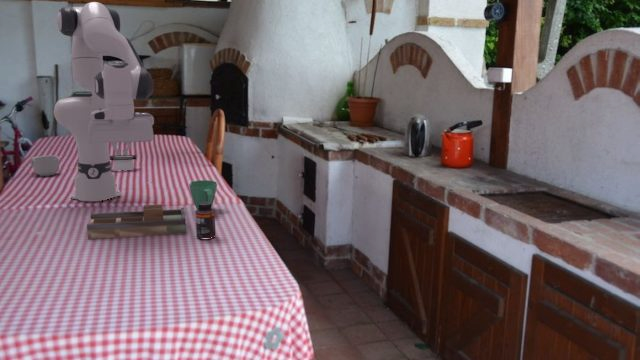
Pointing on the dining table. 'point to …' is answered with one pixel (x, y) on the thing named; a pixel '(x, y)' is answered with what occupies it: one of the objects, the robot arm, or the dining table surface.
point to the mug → (203, 191)
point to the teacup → (45, 165)
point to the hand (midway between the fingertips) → (122, 155)
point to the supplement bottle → (205, 220)
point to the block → (153, 212)
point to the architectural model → (123, 162)
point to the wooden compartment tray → (135, 224)
